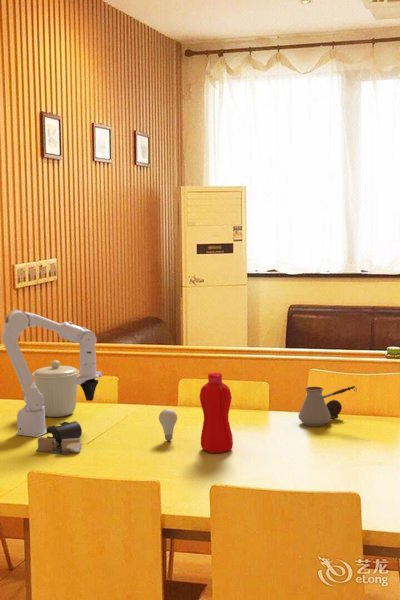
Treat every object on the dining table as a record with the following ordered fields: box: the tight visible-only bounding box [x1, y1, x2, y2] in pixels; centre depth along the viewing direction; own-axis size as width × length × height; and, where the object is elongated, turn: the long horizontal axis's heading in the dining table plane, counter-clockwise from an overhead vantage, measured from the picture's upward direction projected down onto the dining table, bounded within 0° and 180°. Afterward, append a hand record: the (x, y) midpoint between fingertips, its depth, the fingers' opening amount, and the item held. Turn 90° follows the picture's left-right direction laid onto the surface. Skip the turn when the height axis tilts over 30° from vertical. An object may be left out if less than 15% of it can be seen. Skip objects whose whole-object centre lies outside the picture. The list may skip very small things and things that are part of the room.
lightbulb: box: [158, 408, 178, 442], centre depth 269 cm, size 6×6×11 cm
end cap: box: [46, 420, 83, 448], centre depth 270 cm, size 10×7×7 cm
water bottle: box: [199, 372, 234, 454], centre depth 256 cm, size 9×11×25 cm
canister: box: [31, 359, 80, 418], centre depth 309 cm, size 18×18×21 cm
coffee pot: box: [297, 385, 358, 427], centre depth 283 cm, size 21×12×15 cm, turn 59°
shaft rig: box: [35, 436, 83, 456], centre depth 261 cm, size 14×6×4 cm, turn 64°
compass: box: [326, 398, 343, 419], centre depth 294 cm, size 8×8×7 cm
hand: (89, 400), depth 289 cm, fingers closed
